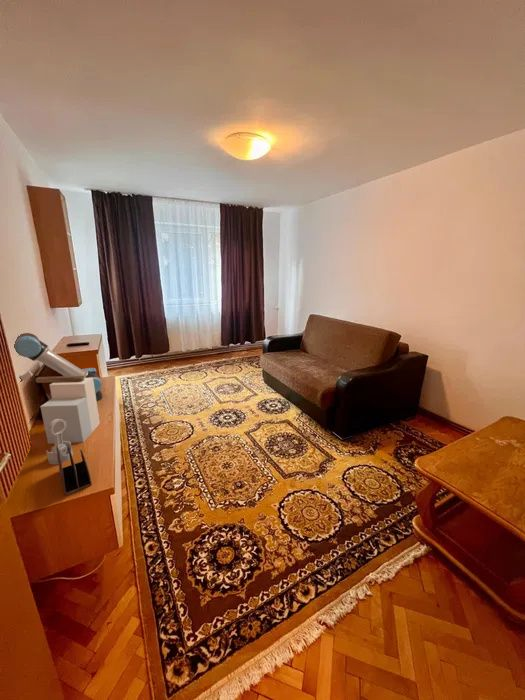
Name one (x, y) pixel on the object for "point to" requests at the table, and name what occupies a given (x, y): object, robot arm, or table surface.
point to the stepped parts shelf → (72, 410)
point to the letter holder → (74, 474)
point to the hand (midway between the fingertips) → (22, 377)
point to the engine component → (58, 444)
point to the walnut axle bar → (60, 379)
